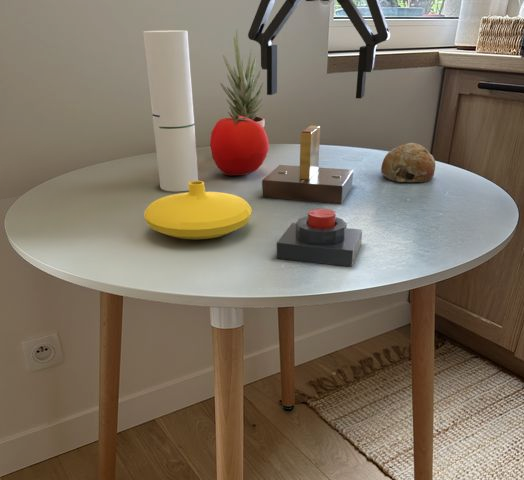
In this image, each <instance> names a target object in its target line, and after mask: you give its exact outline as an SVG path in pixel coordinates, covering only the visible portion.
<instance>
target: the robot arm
mask: <svg viewBox="0 0 524 480" xmlns="http://www.w3.org/2000/svg"><path fill="white" fill-rule="evenodd" d="M305 1H306V2H317V1H318V0H305ZM320 1H322V2H332V0H320ZM275 2H276V0H260V2H259V5H258V7H257V10H256V12H255V14H254V17H253V20H252V23H251V25H250V27H249V28H250V29H249V30H248V33H247V37H248V39H249V40H250V41H253V42H256V43H258V44H259V46H260V68H262V69H261V70H266V95H267V96H272V95H275V94H277V93H278V44H273V43H274V40H275V39H276V37H277V36H278V34H280V32H281V30H282V29H283V27H284V26H285V24H286V23H287V22H288V20H289V19H290V18H291V16H292V15H293V14H294V13H295V10H296V9H297V8H298V7H299V5H301V3H302V2H303V0H285V1H284V3H283V4H282V6H281V7H280V9H279V10H278V11H277V13H276V14H275V16H274V17H273V18H272V20H271V22H270V23H269V24H268V26H267V27H266V25H267V22H268V20H269V17H270V15H271V13H272V9H273V8H274V5H275ZM336 2H337V3H338V4H339V6H340V7H341V9H342V10H343V12H344V13H345V15H346V16H347V18H348V19H349V20H350V23H351V24H352V26H353V27H354V29H355V31H356V32H357V33H358V35H359V36H360V38H361V40H362V41H363V43H364V44H365V45H362V46H360V47H359V53H358V65H357V76H356V91H355V99H360V100H361V99H362V98H364V97H365V91H366V79H367V78H366V77H367V73H372V72H373V71H374V68H375V59H376V49H377V46H378V45H379V44H381V43H384V42H386V41H388V40H389V39H390V38H391V31H390V29H389V26H388V24H387V21H386V17H385V14H384V10H383V8H382V5H381V2H380V0H366V3H367V6H368V9H369V12H370V16H371V18H372V21H373V24H374V27H375V31H376V33H374V32H373V30H372V29H371V27H370V26H369V24H368V23H367V21H366V19H365V18H364V17H363V15H362V13H361V11H360V10H359V9H358V6H357V5H356V4H355V2H354V1H353V0H336ZM265 27H266V29H265ZM264 29H265V30H264Z"/></svg>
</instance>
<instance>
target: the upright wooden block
mask: <svg viewBox="0 0 524 480" xmlns="http://www.w3.org/2000/svg"><path fill="white" fill-rule="evenodd" d="M320 138H321V125H309V126H308V127H306V128H305V129H303V130H302V131H301V132H300V138H299V139H300V142H299V166H300V174H299V179H305V180H310V179H311V177H312V176H313V175H314V174H315V173H316V172H317V171H318V167H319V162H320V143H321V142H320V141H321V139H320Z"/></svg>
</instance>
